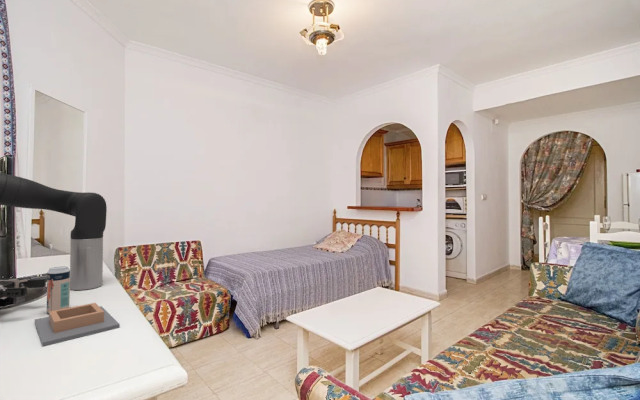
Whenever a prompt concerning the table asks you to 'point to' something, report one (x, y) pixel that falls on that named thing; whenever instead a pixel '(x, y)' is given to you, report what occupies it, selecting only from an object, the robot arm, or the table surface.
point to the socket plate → (74, 323)
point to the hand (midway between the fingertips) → (36, 287)
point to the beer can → (58, 288)
